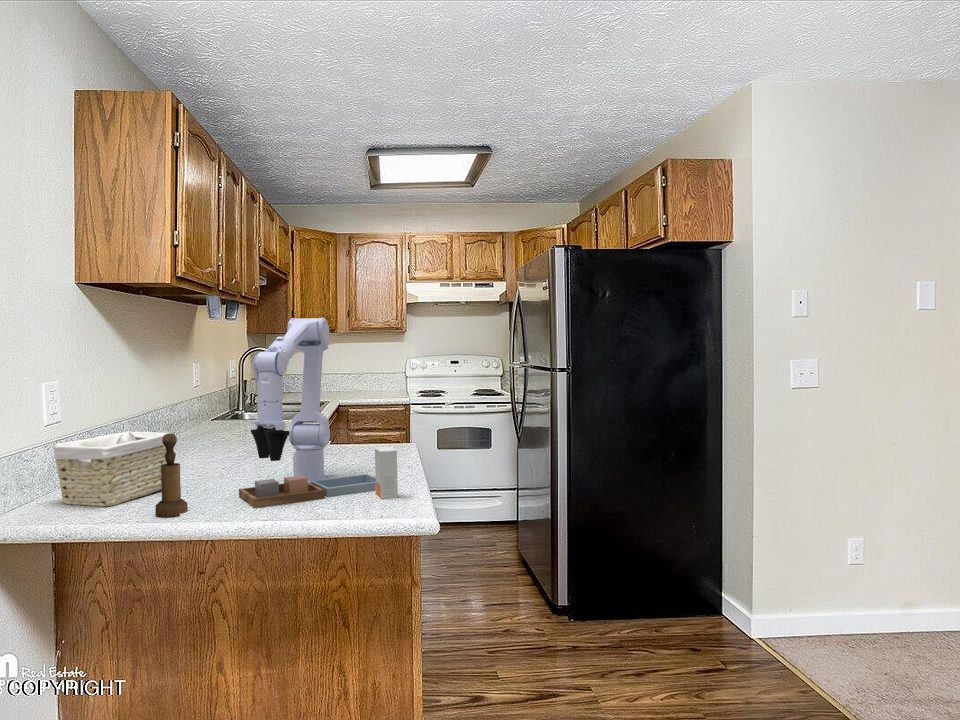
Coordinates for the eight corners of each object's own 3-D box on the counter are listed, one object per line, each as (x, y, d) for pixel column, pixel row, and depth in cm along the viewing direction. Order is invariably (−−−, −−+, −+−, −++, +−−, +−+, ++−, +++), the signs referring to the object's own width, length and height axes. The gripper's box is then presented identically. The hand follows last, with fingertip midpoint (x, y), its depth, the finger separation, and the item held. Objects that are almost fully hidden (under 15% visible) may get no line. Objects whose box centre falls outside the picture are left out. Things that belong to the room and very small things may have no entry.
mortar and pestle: (192, 510, 165) (189, 431, 165) (181, 517, 159) (179, 435, 158) (162, 510, 165) (160, 431, 164) (150, 518, 158) (148, 436, 158)
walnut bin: (239, 499, 175) (238, 489, 175) (305, 490, 184) (305, 480, 184) (254, 510, 164) (254, 499, 164) (325, 500, 173) (324, 490, 173)
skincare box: (375, 496, 177) (374, 447, 176) (392, 494, 178) (391, 446, 178) (380, 501, 171) (379, 451, 171) (398, 499, 173) (397, 449, 172)
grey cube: (255, 499, 173) (254, 481, 173) (273, 496, 175) (273, 478, 175) (260, 502, 169) (260, 484, 169) (279, 500, 172) (278, 481, 171)
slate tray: (310, 490, 184) (310, 480, 184) (367, 483, 192) (367, 473, 192) (327, 499, 174) (326, 488, 174) (386, 490, 183) (386, 481, 183)
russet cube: (284, 495, 177) (283, 477, 177) (301, 493, 179) (301, 475, 179) (290, 498, 173) (289, 480, 173) (307, 496, 175) (307, 478, 175)
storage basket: (106, 509, 167) (104, 446, 167) (51, 505, 172) (49, 443, 171) (178, 488, 190) (176, 432, 189) (128, 485, 195) (126, 430, 194)
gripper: (243, 401, 176) (242, 457, 175) (264, 402, 164) (263, 463, 164) (271, 401, 180) (271, 456, 179) (294, 402, 168) (293, 461, 168)
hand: (269, 459), depth 172 cm, fingers open, 7 cm apart
